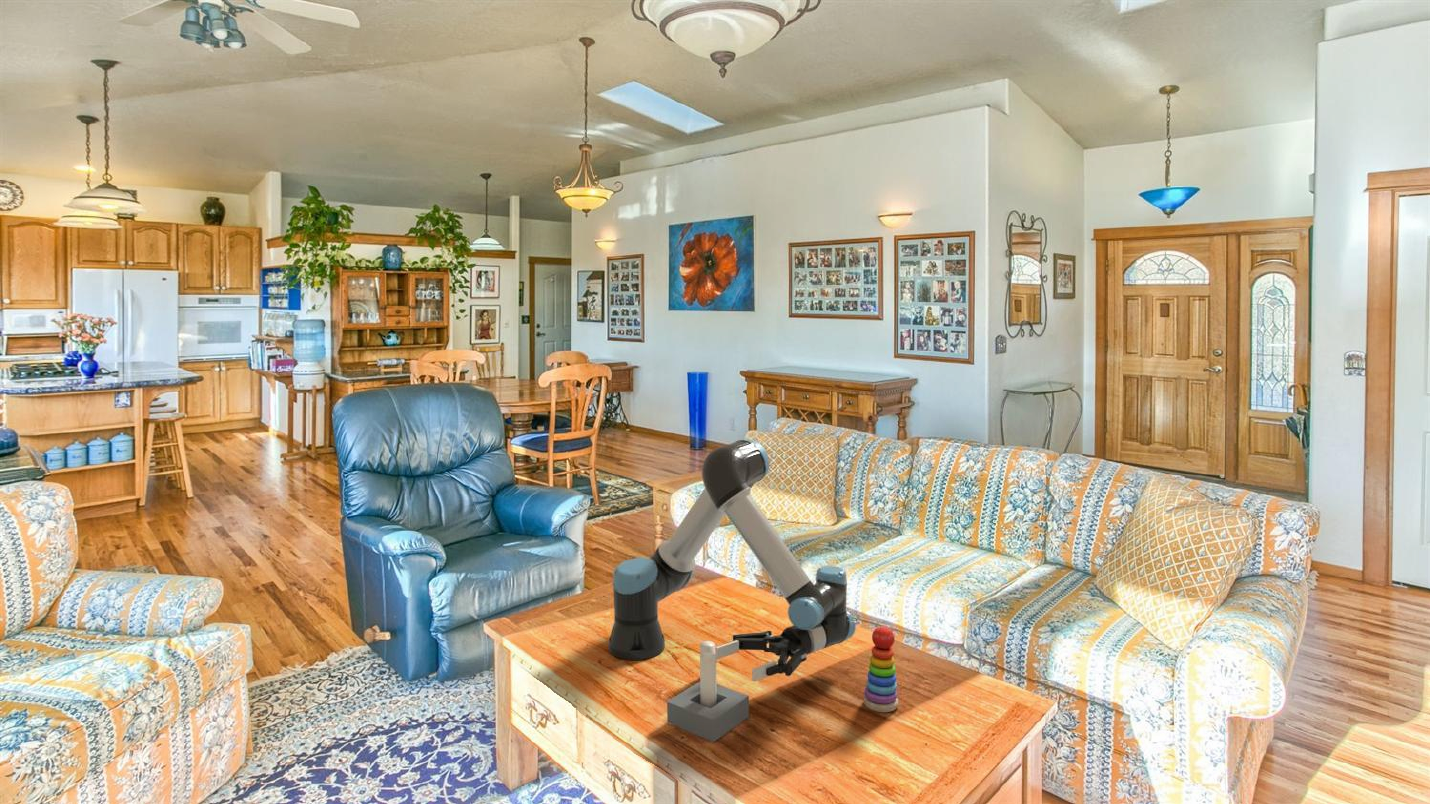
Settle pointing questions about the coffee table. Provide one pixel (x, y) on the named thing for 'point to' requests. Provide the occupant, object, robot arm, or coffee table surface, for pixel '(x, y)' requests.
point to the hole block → (708, 712)
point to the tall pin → (708, 680)
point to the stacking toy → (881, 673)
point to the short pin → (707, 647)
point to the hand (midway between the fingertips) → (734, 664)
